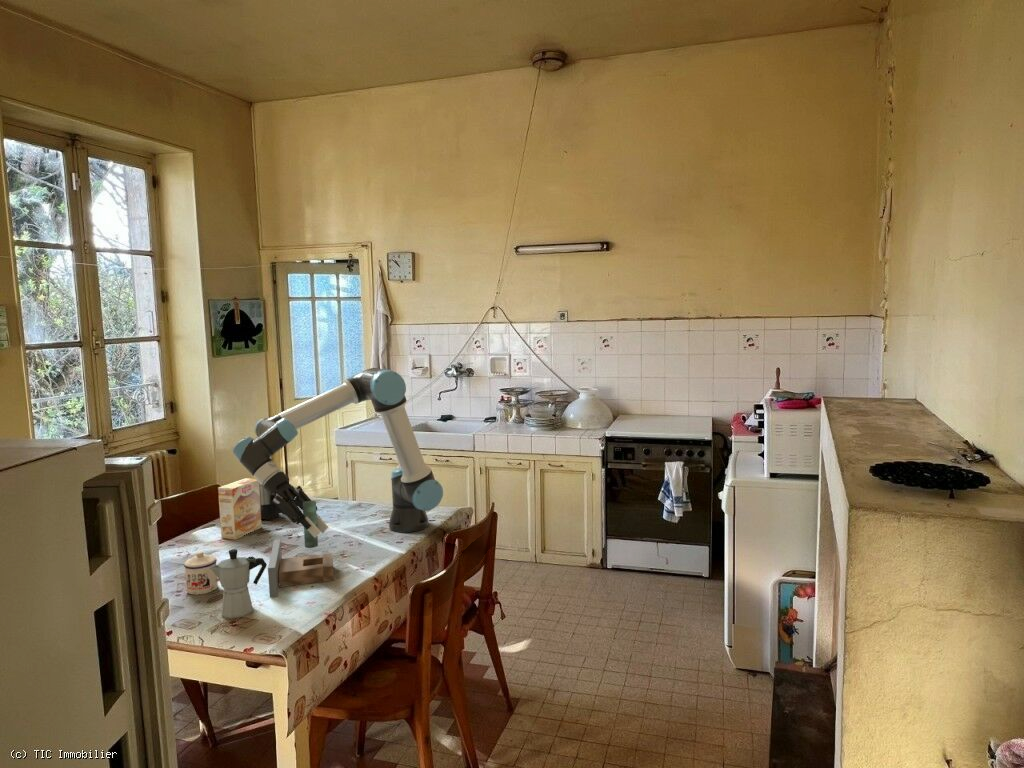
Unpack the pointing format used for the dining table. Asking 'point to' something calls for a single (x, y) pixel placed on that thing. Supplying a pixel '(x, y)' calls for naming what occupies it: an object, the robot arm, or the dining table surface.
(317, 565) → the socket block
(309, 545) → the dowel
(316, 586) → the dining table surface
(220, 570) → the coffee maker
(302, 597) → the dining table surface
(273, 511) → the milk frother
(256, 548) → the dining table surface
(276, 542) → the wall
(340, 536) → the dining table surface
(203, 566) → the teacup with lid
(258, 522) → the coffeecake box
